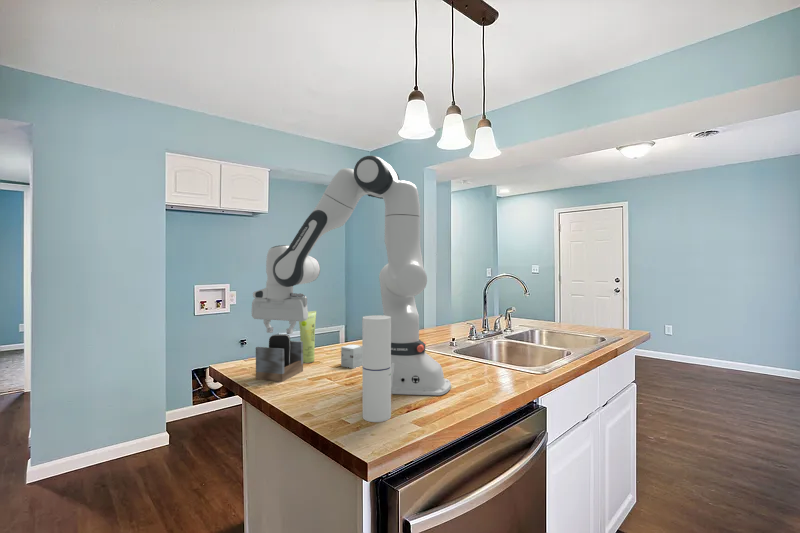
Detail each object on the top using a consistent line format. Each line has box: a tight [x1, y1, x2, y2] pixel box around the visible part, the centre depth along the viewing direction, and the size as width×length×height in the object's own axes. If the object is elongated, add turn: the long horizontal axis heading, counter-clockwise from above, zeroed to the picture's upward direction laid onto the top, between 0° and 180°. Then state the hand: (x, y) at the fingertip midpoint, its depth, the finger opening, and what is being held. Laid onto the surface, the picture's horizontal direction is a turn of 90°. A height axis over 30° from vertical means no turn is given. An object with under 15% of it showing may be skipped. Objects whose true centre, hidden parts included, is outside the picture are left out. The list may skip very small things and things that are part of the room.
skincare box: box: [340, 344, 363, 369], centre depth 148 cm, size 6×6×7 cm
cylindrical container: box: [361, 314, 392, 423], centre depth 100 cm, size 7×7×25 cm
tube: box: [298, 310, 317, 364], centre depth 154 cm, size 6×5×20 cm
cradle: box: [255, 340, 304, 383], centre depth 136 cm, size 10×13×10 cm
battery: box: [268, 333, 291, 367], centre depth 136 cm, size 7×4×11 cm, turn 97°
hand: (279, 333), depth 136 cm, fingers open, 6 cm apart
